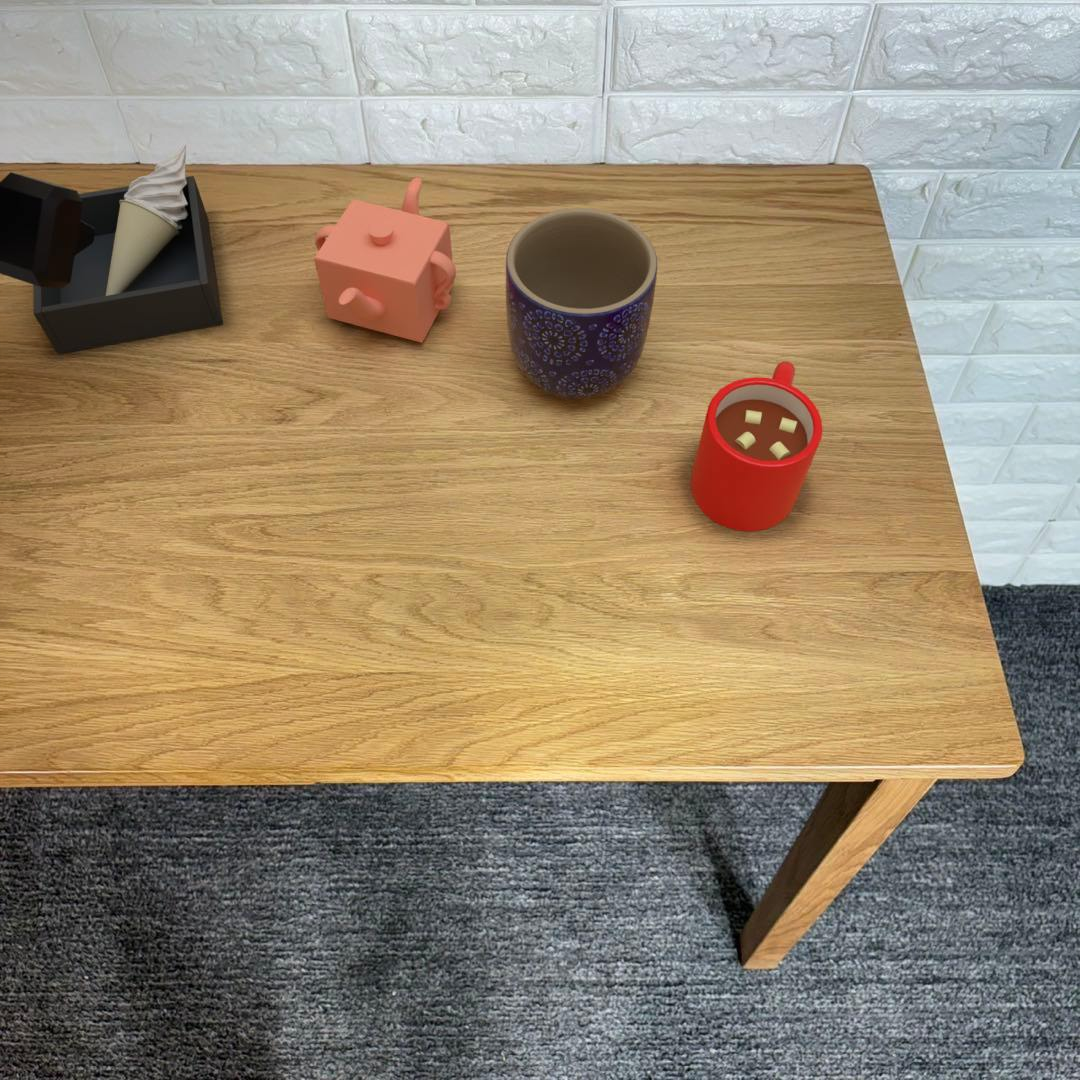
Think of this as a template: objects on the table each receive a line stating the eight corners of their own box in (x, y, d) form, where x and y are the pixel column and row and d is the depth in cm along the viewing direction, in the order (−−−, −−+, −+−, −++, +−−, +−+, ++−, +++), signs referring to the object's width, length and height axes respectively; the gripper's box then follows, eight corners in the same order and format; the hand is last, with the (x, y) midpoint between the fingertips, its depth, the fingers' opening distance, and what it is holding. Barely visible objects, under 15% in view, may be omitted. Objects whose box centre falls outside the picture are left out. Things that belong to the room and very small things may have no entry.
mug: (817, 421, 78) (845, 352, 71) (783, 544, 72) (809, 481, 65) (719, 393, 79) (737, 323, 72) (677, 512, 73) (693, 447, 66)
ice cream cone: (147, 325, 84) (221, 169, 86) (123, 306, 79) (203, 140, 81) (92, 302, 84) (168, 147, 86) (65, 281, 79) (146, 116, 81)
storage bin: (57, 354, 80) (33, 313, 76) (54, 244, 87) (32, 201, 83) (223, 324, 82) (208, 283, 78) (208, 218, 89) (193, 175, 85)
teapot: (288, 351, 81) (265, 274, 74) (364, 231, 88) (350, 150, 81) (424, 389, 79) (414, 313, 72) (490, 262, 86) (487, 182, 79)
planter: (592, 296, 84) (601, 187, 75) (669, 380, 80) (689, 275, 70) (482, 347, 81) (476, 240, 72) (555, 438, 76) (559, 337, 67)
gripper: (-8, 74, 53) (170, 134, 68) (-280, -4, 56) (-55, 70, 71) (-35, 282, 56) (142, 297, 71) (-293, 196, 59) (-73, 227, 74)
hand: (38, 218), depth 72 cm, fingers open, 9 cm apart
